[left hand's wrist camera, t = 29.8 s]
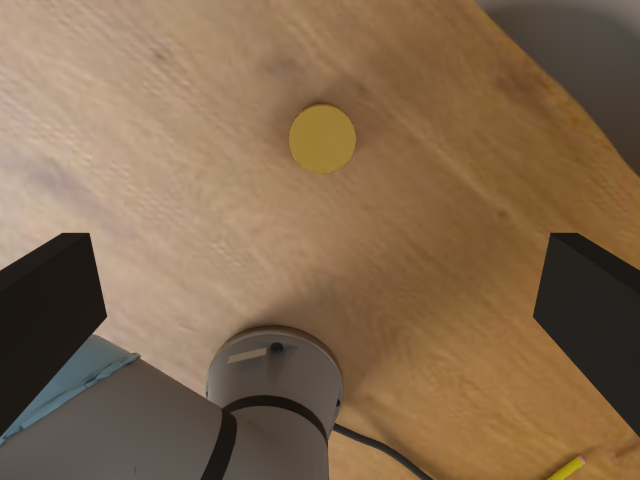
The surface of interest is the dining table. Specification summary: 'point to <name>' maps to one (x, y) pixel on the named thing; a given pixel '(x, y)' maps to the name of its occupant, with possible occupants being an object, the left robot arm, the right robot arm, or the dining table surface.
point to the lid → (322, 138)
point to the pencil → (568, 468)
